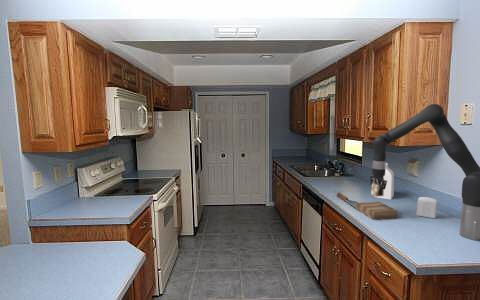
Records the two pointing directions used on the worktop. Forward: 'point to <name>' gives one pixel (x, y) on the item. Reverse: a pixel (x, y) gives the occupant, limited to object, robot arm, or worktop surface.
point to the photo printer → (426, 207)
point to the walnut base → (377, 210)
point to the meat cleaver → (347, 200)
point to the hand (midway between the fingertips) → (377, 193)
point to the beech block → (376, 190)
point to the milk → (388, 184)
